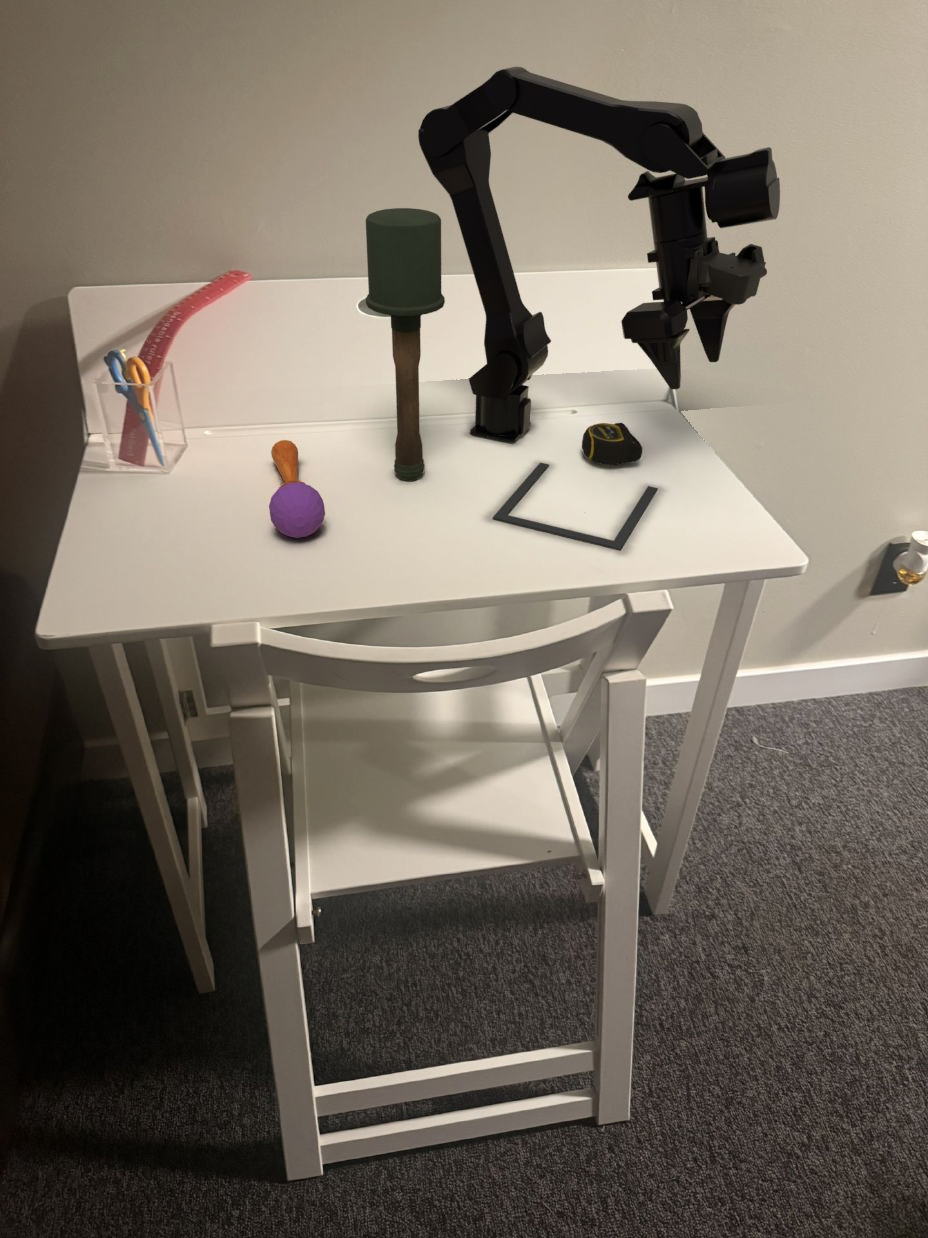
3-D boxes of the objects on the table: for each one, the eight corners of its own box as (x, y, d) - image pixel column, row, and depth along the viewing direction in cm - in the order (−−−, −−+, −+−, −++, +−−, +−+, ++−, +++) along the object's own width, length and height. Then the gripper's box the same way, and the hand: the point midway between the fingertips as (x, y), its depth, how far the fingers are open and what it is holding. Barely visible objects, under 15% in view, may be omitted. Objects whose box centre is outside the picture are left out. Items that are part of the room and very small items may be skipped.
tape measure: (641, 469, 113) (645, 441, 111) (589, 472, 112) (592, 445, 110) (624, 445, 119) (627, 418, 117) (574, 448, 118) (576, 421, 116)
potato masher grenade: (447, 461, 114) (448, 207, 96) (439, 494, 107) (439, 227, 89) (381, 457, 115) (370, 204, 97) (369, 490, 108) (354, 224, 90)
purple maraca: (311, 431, 112) (330, 497, 95) (306, 476, 114) (324, 548, 98) (261, 427, 110) (273, 493, 93) (258, 473, 113) (269, 545, 96)
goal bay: (492, 519, 103) (492, 517, 103) (540, 464, 114) (540, 462, 114) (620, 550, 98) (621, 548, 98) (657, 490, 109) (657, 487, 109)
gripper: (705, 251, 88) (720, 405, 95) (788, 205, 99) (795, 347, 106) (609, 261, 95) (630, 403, 103) (696, 217, 106) (709, 349, 113)
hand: (695, 374), depth 106 cm, fingers open, 9 cm apart
